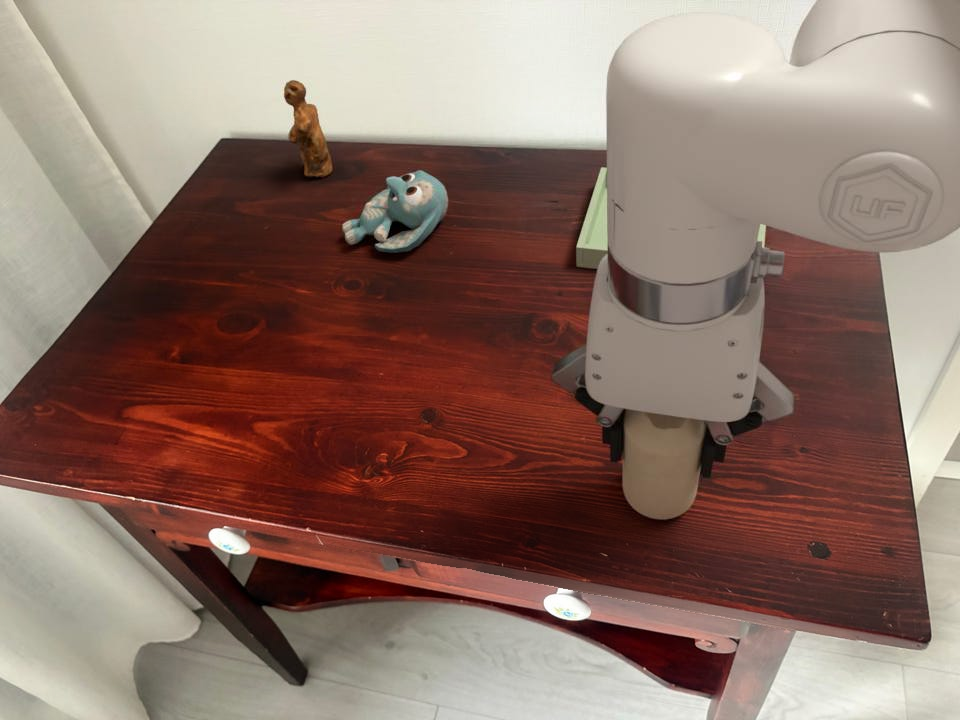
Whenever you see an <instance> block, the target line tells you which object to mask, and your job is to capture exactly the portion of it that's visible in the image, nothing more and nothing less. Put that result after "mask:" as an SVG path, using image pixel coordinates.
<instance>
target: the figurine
mask: <svg viewBox="0 0 960 720" xmlns="http://www.w3.org/2000/svg"><path fill="white" fill-rule="evenodd" d="M306 96H307V88H306V86H305V85H304V84H303V83H302V82H300V81H298V80H297V79H296V80H295V79H292V80H289V81H287V82H286V83H285V85H284V88H283V98H284V100H285V102H286V103H287V104H288V105H289V106H291V107H293V121H294V122H293V125H292V126H291V128H290V129H289V132H288V134H287V135H288V136H287V137H288V140H289V141H290V143H291V144H295V145H297V146H298V148H299V149H300V150H299V153H300V157H301V159H302V163H303V166H304V168H303V169H304V172H303V174H304V176H305V177H307V178H310V179H312V178H313V177H314V178H316V179H317V178H321V179H322V178H326V177H327V176H328V175H330V174H331V173H332V171H333V170H334V165H333V163H332V158H331V155H330V153H329V152H330V151H329V149H328V143H327V140H326V137H325V135H324V132H323V129H322V126H321V125H320V119H319V113H318V109H317V106H316V105H315V104H313V103H307V100H306Z"/></svg>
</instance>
